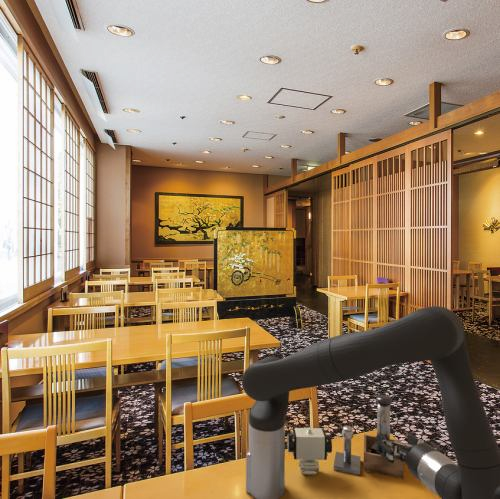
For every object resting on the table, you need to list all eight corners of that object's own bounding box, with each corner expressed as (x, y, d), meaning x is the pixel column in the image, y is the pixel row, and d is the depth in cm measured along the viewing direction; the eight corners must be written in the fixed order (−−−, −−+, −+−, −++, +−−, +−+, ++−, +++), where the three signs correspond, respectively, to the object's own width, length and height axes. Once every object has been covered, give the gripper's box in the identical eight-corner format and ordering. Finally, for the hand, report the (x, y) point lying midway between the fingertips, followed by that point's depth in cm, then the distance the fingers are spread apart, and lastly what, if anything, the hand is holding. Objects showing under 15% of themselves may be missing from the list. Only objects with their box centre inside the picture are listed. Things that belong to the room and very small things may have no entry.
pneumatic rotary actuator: (332, 477, 95) (332, 433, 95) (288, 476, 95) (288, 432, 95) (327, 464, 100) (328, 422, 100) (286, 463, 100) (287, 422, 100)
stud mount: (333, 469, 98) (333, 431, 98) (335, 455, 104) (336, 419, 104) (359, 475, 96) (360, 436, 95) (360, 460, 102) (360, 424, 102)
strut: (370, 461, 100) (371, 398, 100) (377, 453, 104) (378, 392, 104) (389, 469, 97) (390, 403, 96) (395, 460, 101) (396, 397, 100)
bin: (363, 470, 98) (363, 452, 97) (364, 450, 107) (364, 434, 107) (403, 478, 94) (403, 460, 94) (400, 457, 104) (400, 440, 104)
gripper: (465, 451, 76) (419, 422, 92) (404, 452, 74) (367, 422, 90) (466, 488, 75) (419, 452, 91) (403, 490, 73) (367, 453, 89)
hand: (393, 437), depth 90 cm, fingers open, 8 cm apart
